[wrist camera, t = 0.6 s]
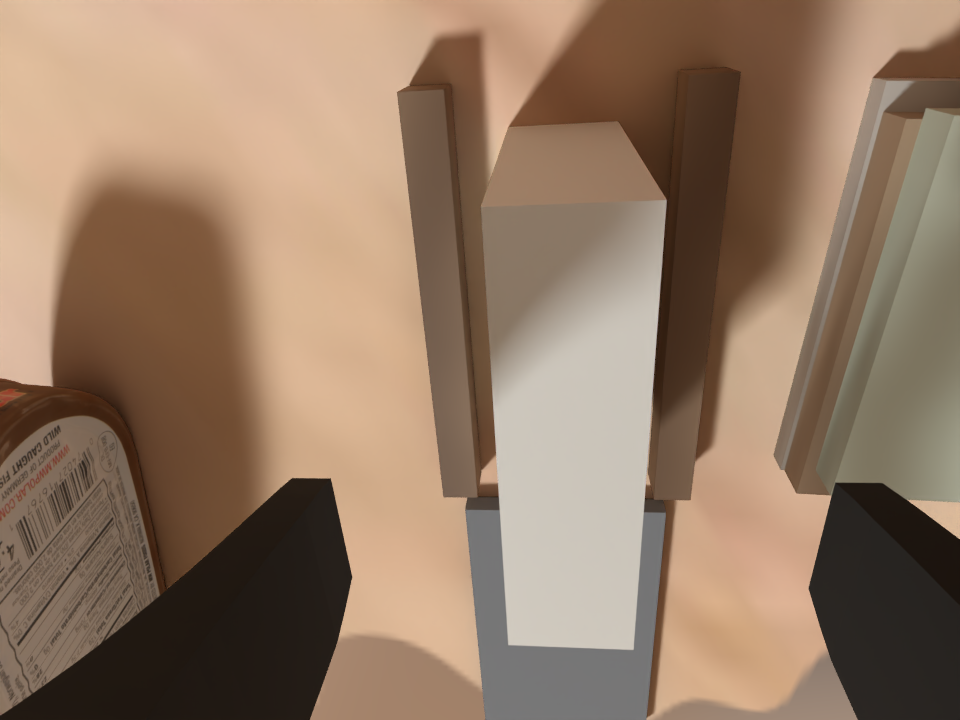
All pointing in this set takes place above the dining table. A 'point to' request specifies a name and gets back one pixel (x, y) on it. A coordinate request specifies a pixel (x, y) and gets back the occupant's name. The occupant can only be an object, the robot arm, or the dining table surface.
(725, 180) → the rack
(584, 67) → the dining table surface
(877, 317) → the olive rounded oblong piece
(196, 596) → the robot arm
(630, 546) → the block
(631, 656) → the mat
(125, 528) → the brown rounded slab
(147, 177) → the dining table surface
